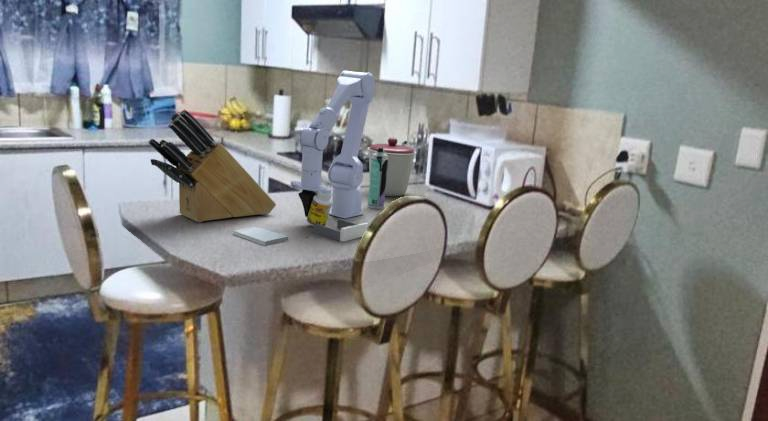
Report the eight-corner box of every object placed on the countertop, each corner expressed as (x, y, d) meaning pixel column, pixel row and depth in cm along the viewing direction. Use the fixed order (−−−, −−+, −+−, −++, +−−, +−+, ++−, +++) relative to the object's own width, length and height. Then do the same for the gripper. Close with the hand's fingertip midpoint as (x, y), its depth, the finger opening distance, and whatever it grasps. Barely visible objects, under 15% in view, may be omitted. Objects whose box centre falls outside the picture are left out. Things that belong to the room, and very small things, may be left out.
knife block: (145, 217, 174) (145, 105, 167) (256, 206, 197) (260, 107, 190) (163, 227, 166) (163, 110, 159) (276, 214, 189) (281, 111, 182)
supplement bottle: (302, 221, 179) (311, 189, 175) (313, 217, 184) (323, 186, 180) (317, 230, 177) (327, 198, 173) (328, 225, 181) (338, 194, 178)
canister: (386, 200, 221) (391, 141, 216) (353, 190, 234) (358, 134, 229) (422, 196, 233) (427, 140, 229) (389, 187, 246) (394, 133, 241)
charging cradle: (338, 226, 182) (339, 214, 181) (367, 235, 176) (368, 222, 175) (313, 232, 174) (313, 219, 173) (342, 241, 167) (343, 228, 166)
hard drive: (288, 236, 164) (257, 225, 172) (265, 241, 158) (233, 230, 165) (288, 242, 165) (256, 231, 172) (264, 247, 158) (232, 236, 166)
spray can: (386, 208, 210) (391, 149, 205) (371, 208, 207) (375, 148, 203) (380, 204, 214) (385, 146, 210) (365, 204, 212) (370, 146, 208)
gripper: (283, 167, 180) (281, 213, 183) (320, 176, 171) (317, 224, 174) (301, 165, 185) (298, 209, 188) (337, 173, 176) (334, 220, 180)
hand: (308, 216), depth 181 cm, fingers closed
